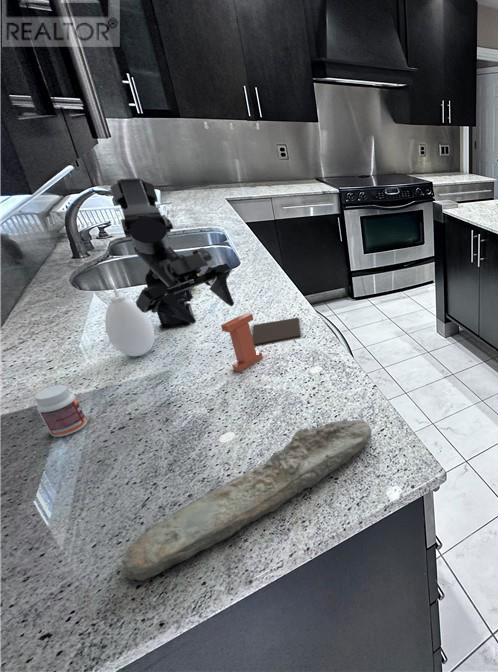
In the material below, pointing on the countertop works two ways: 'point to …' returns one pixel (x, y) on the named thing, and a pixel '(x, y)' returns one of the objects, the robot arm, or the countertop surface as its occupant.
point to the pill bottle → (60, 411)
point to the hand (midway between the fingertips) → (214, 313)
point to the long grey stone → (245, 497)
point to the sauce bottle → (128, 326)
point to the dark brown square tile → (276, 331)
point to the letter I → (242, 341)
